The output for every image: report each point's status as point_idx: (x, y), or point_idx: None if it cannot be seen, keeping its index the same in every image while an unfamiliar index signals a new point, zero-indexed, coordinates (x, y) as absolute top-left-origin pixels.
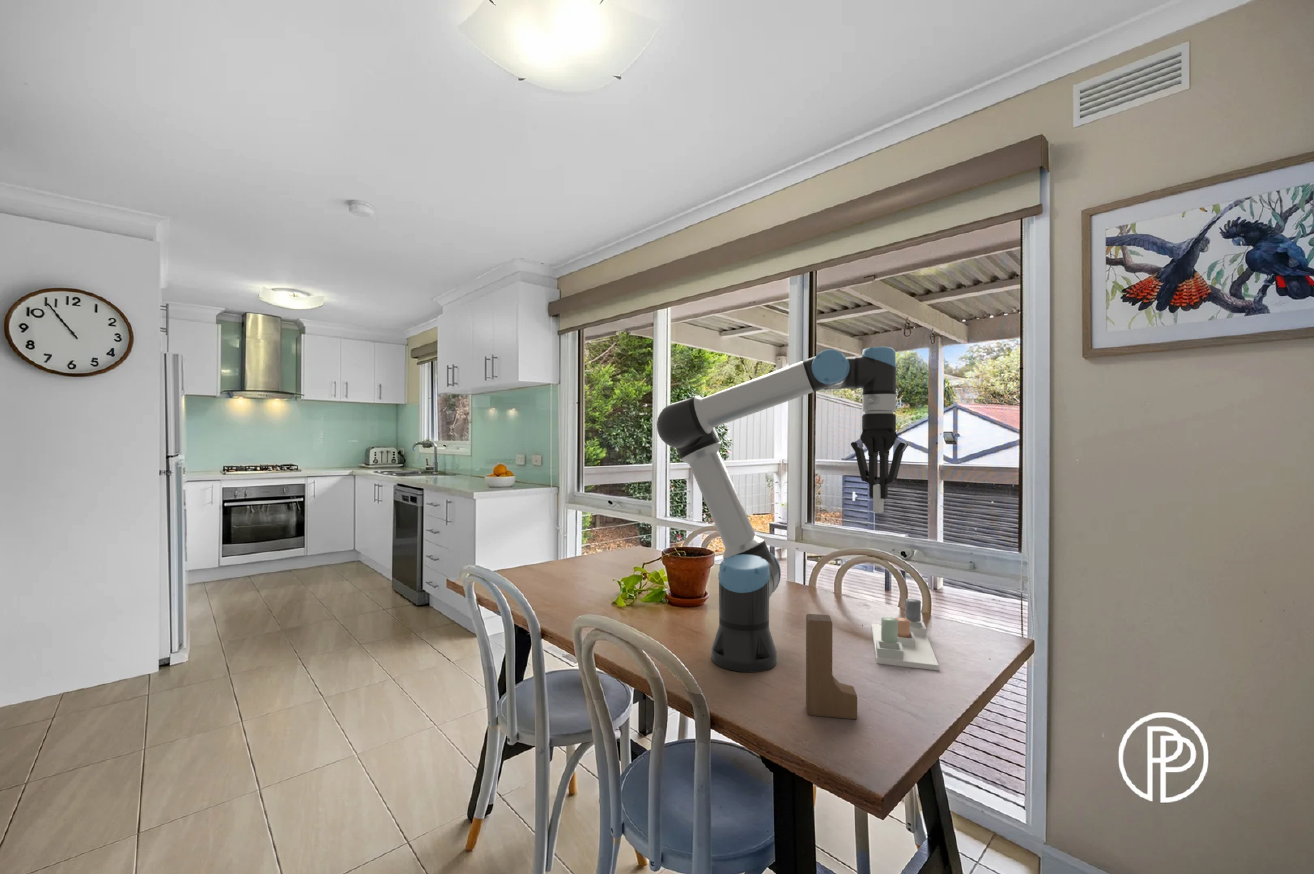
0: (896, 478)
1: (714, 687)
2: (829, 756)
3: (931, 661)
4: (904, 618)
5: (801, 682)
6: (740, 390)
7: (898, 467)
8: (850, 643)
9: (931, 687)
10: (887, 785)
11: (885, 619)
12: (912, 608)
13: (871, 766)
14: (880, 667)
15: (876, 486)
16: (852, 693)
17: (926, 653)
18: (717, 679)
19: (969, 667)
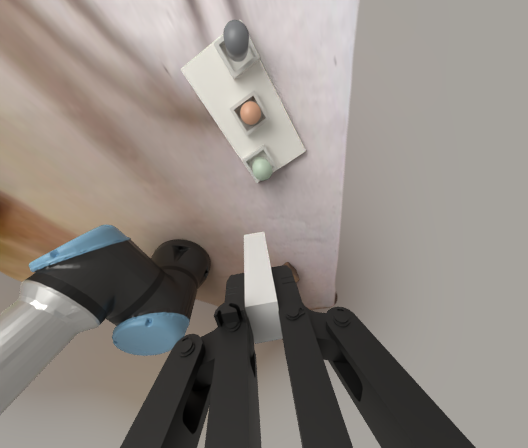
0: (362, 324)
1: (211, 302)
2: (303, 302)
3: (297, 147)
4: (249, 103)
5: (240, 258)
6: None
7: (432, 417)
8: (207, 153)
9: (312, 191)
10: (332, 300)
11: (259, 175)
12: (241, 55)
13: (321, 295)
14: (264, 187)
15: (269, 335)
16: (296, 280)
17: (285, 127)
18: (202, 294)
19: (324, 114)
